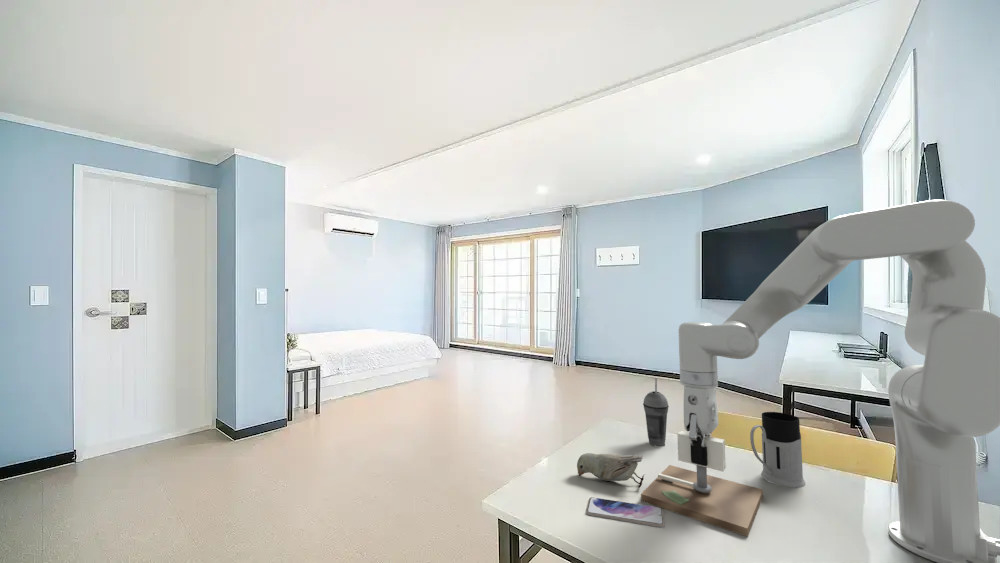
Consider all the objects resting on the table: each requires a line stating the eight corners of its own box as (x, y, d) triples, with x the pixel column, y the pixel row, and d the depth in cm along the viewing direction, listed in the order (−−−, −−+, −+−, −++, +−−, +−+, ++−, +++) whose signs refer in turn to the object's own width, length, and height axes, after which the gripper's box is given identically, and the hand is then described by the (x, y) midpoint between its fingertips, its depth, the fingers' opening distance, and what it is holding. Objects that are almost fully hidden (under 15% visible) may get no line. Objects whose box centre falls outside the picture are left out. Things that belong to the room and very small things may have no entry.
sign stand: (727, 493, 85) (725, 438, 85) (723, 500, 82) (721, 443, 82) (661, 474, 94) (659, 425, 94) (655, 480, 91) (654, 429, 92)
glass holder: (814, 483, 92) (811, 419, 93) (771, 494, 87) (768, 426, 88) (777, 468, 100) (775, 409, 101) (736, 477, 96) (734, 415, 96)
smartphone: (589, 496, 87) (662, 507, 82) (589, 500, 87) (662, 511, 82) (585, 512, 80) (664, 525, 76) (585, 516, 80) (664, 529, 75)
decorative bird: (580, 471, 101) (579, 441, 101) (646, 483, 94) (645, 452, 94) (574, 480, 96) (574, 449, 96) (643, 494, 89) (642, 460, 89)
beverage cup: (665, 439, 121) (663, 374, 122) (673, 448, 114) (671, 379, 115) (641, 439, 122) (639, 374, 123) (647, 448, 115) (645, 379, 116)
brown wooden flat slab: (763, 496, 87) (762, 488, 87) (747, 536, 72) (747, 527, 72) (669, 470, 100) (669, 464, 100) (641, 500, 86) (640, 492, 86)
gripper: (707, 386, 79) (710, 480, 78) (725, 374, 91) (728, 454, 90) (669, 382, 84) (671, 469, 83) (690, 370, 96) (693, 446, 95)
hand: (701, 460), depth 86 cm, fingers open, 2 cm apart
